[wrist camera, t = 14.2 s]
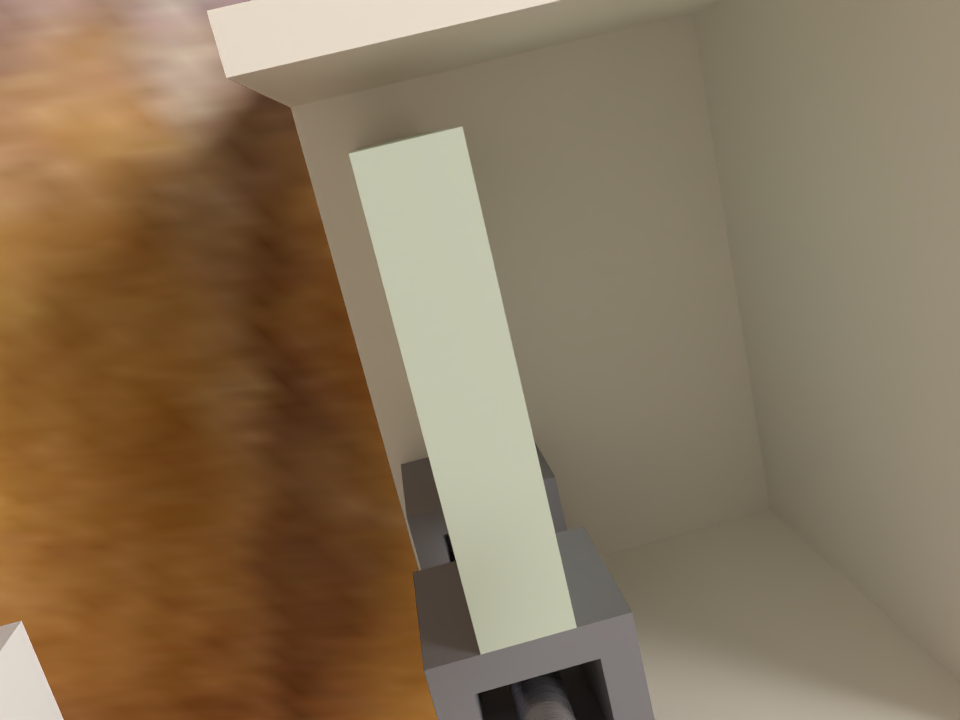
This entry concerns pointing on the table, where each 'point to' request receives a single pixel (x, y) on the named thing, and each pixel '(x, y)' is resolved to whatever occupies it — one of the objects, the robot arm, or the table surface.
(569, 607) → the door
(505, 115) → the carcass
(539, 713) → the hinge pin
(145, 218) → the table surface
